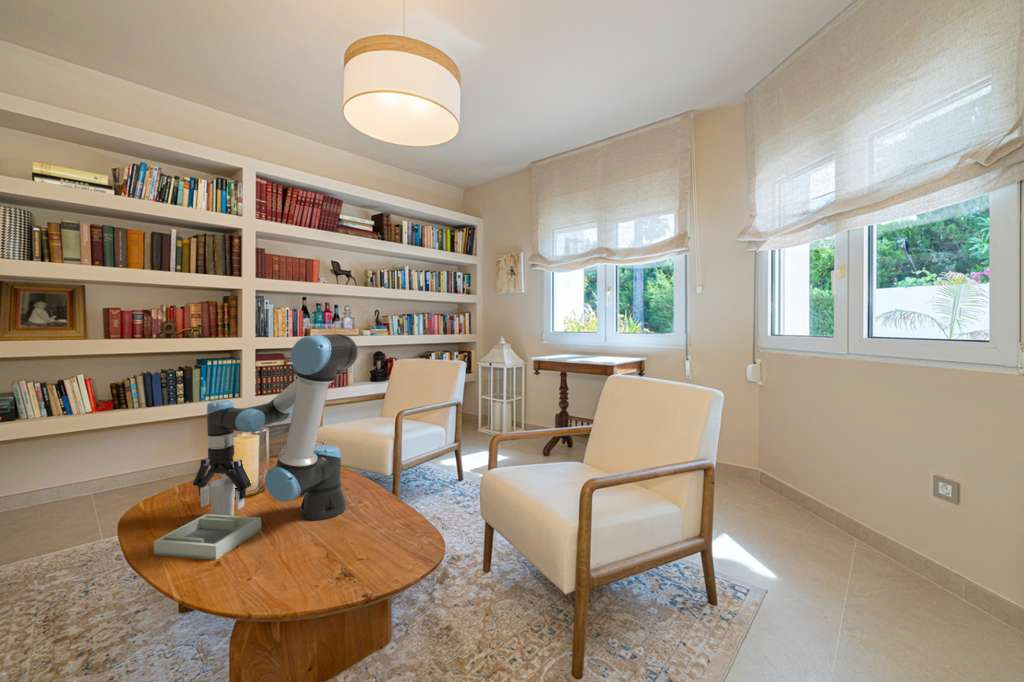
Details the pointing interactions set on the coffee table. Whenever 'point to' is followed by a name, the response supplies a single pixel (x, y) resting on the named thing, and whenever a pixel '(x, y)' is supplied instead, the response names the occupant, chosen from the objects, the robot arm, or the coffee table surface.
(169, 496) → the coffee table surface
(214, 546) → the box
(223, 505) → the cup
